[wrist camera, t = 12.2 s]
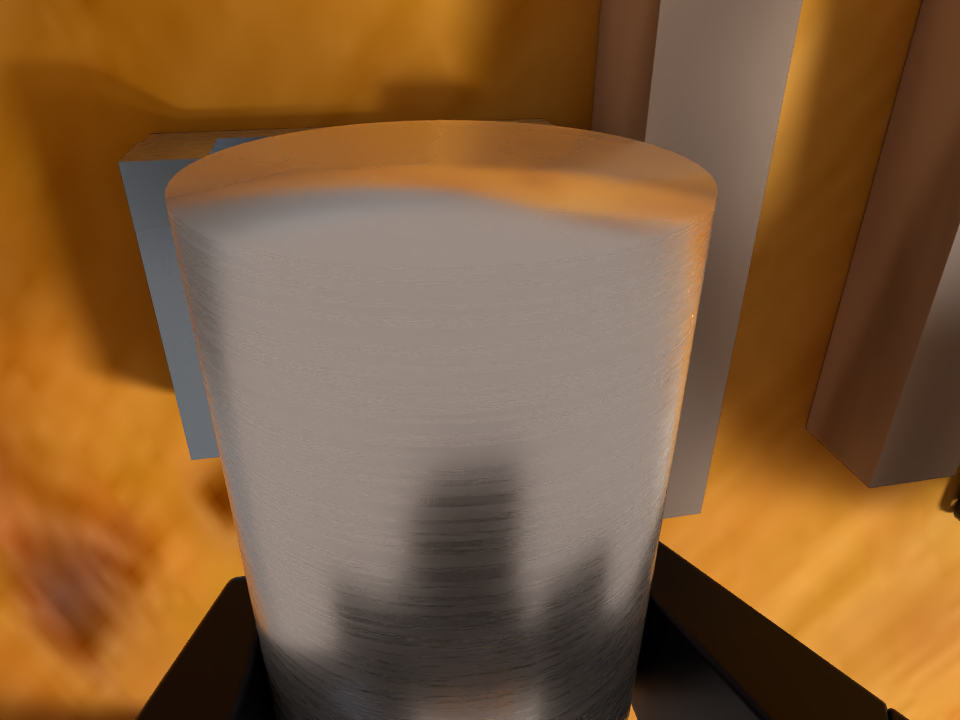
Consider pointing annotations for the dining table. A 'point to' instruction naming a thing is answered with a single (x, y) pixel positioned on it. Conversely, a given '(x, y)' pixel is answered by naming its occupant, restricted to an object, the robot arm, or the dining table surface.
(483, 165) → the axle
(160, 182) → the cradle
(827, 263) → the dining table surface
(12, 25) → the dining table surface
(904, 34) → the dining table surface
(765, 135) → the pair of brown blocks
